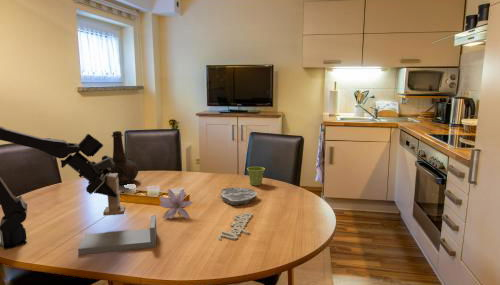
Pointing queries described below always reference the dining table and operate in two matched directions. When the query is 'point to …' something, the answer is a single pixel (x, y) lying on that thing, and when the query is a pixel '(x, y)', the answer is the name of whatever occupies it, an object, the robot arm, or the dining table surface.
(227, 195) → the brain slice
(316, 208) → the dining table surface
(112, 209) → the brown upright panelled block
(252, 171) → the plant pot
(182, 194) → the water lily
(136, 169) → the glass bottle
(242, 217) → the decorative sign
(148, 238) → the grey l-shaped bracket
